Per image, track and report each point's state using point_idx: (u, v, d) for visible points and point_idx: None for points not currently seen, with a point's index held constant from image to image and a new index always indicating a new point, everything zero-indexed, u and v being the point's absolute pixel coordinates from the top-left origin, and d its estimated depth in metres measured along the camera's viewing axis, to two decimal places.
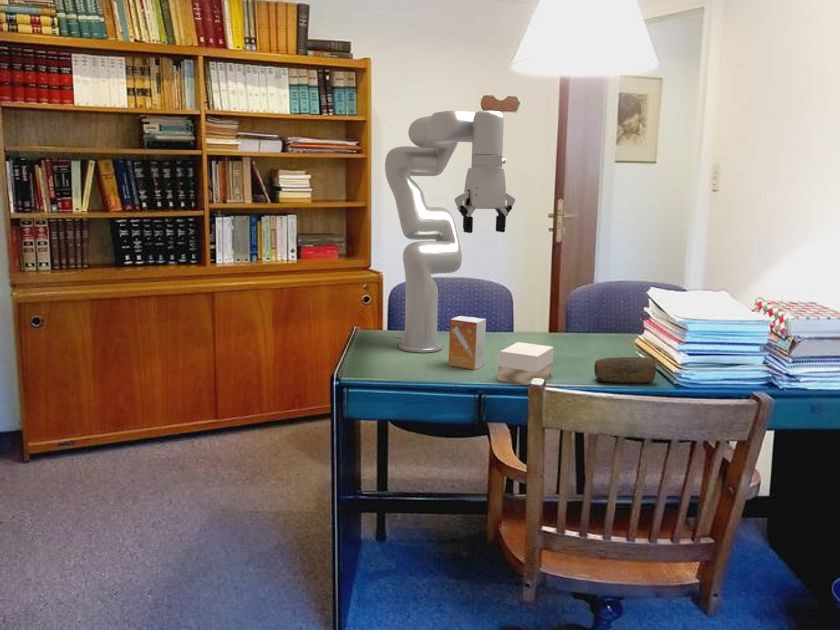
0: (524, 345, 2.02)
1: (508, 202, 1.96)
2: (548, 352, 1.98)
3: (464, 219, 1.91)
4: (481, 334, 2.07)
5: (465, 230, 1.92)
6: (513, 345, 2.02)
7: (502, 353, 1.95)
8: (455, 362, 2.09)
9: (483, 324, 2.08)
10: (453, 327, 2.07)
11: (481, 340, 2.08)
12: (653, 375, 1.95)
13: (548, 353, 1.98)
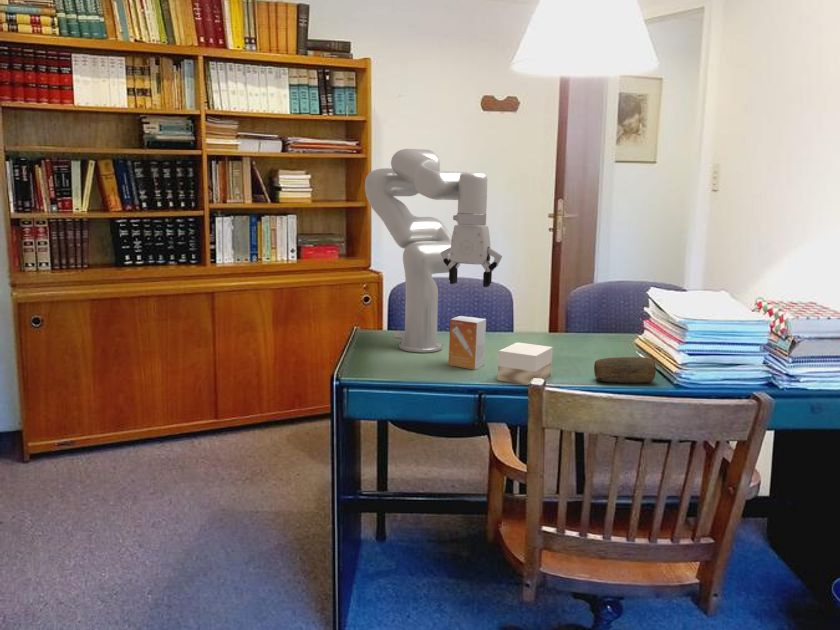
0: (523, 345, 2.02)
1: (447, 255, 2.08)
2: (547, 352, 1.98)
3: (490, 275, 2.03)
4: (481, 334, 2.07)
5: (486, 285, 2.03)
6: (512, 345, 2.02)
7: (501, 352, 1.95)
8: (455, 362, 2.09)
9: (484, 324, 2.08)
10: (453, 327, 2.07)
11: (481, 340, 2.08)
12: (653, 375, 1.95)
13: (547, 353, 1.98)
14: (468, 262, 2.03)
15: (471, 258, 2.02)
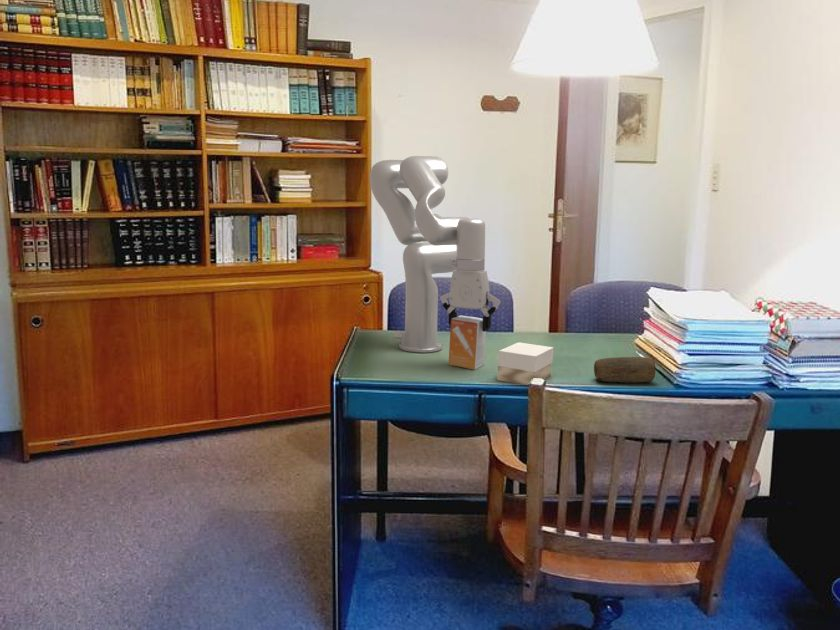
0: (524, 345, 2.02)
1: (446, 300, 2.10)
2: (547, 352, 1.98)
3: (489, 319, 2.05)
4: (482, 334, 2.07)
5: (486, 329, 2.05)
6: (513, 345, 2.02)
7: (501, 352, 1.96)
8: (455, 361, 2.09)
9: None
10: (454, 326, 2.07)
11: (481, 340, 2.08)
12: (653, 375, 1.95)
13: (547, 353, 1.98)
14: (467, 307, 2.05)
15: (470, 303, 2.04)
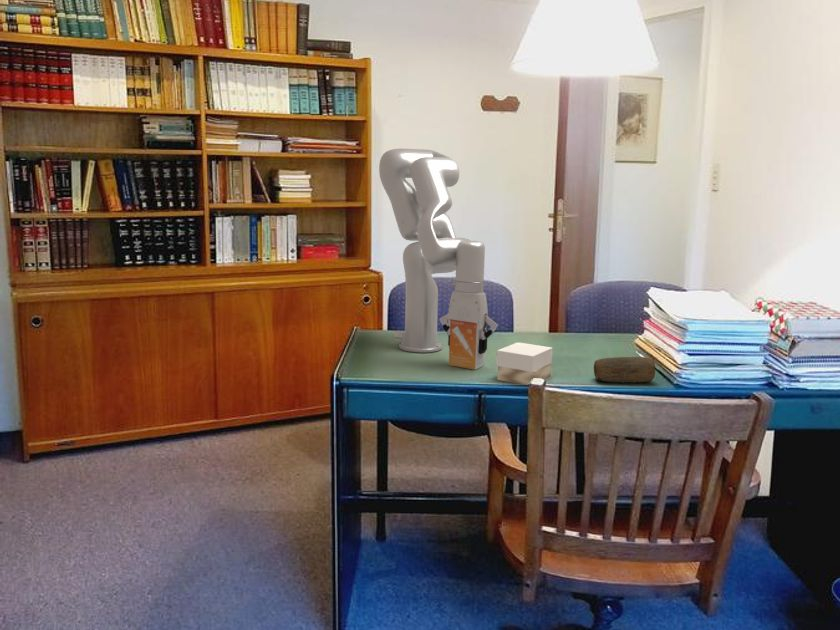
0: (523, 345, 2.02)
1: (446, 321, 2.12)
2: (546, 352, 1.97)
3: (485, 342, 2.07)
4: None
5: (482, 352, 2.07)
6: (512, 345, 2.02)
7: (499, 352, 1.96)
8: (455, 362, 2.09)
9: (484, 324, 2.08)
10: (453, 327, 2.07)
11: None
12: (652, 375, 1.95)
13: (546, 354, 1.98)
14: None
15: None
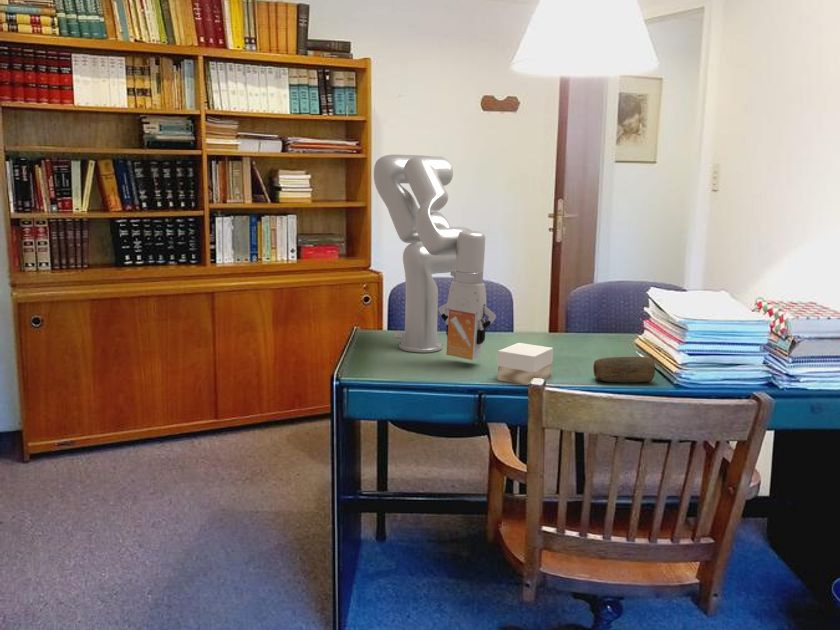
0: (524, 345, 2.02)
1: (444, 310, 2.12)
2: (546, 353, 1.98)
3: (483, 332, 2.07)
4: None
5: (480, 342, 2.08)
6: (513, 345, 2.02)
7: (500, 352, 1.96)
8: (453, 351, 2.09)
9: (482, 315, 2.08)
10: (452, 317, 2.07)
11: None
12: (652, 374, 1.95)
13: (547, 354, 1.98)
14: None
15: None
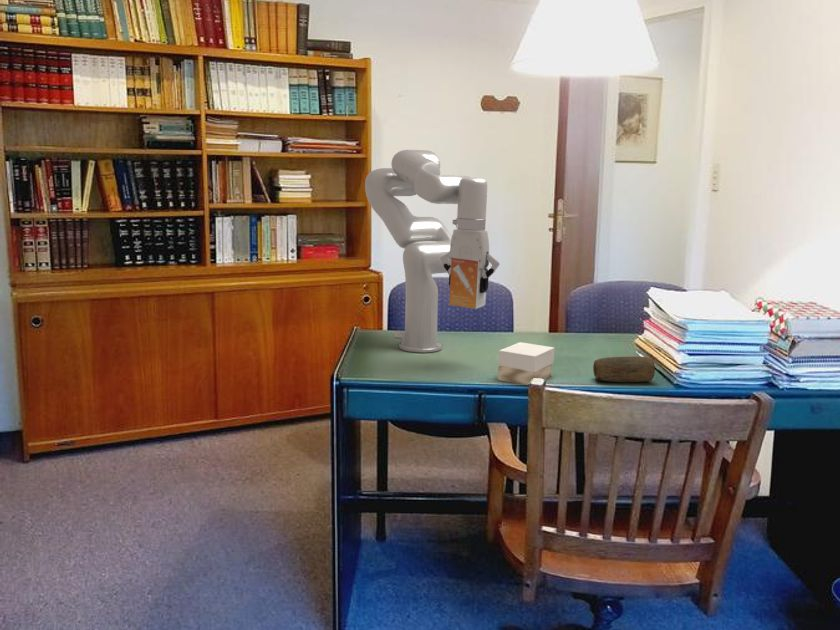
0: (525, 345, 2.03)
1: (446, 260, 2.09)
2: (548, 352, 1.98)
3: (486, 281, 2.04)
4: None
5: (483, 291, 2.04)
6: (514, 345, 2.02)
7: (501, 352, 1.96)
8: (455, 301, 2.06)
9: (485, 263, 2.05)
10: (454, 265, 2.04)
11: None
12: (652, 374, 1.95)
13: (548, 353, 1.98)
14: None
15: None
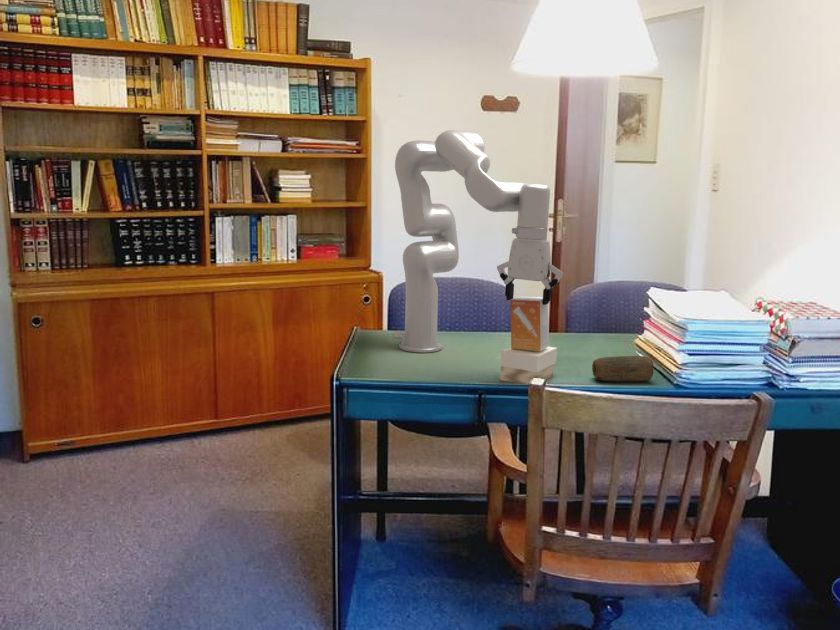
0: None
1: (503, 270, 1.98)
2: (550, 352, 1.98)
3: (550, 292, 1.93)
4: (544, 313, 1.95)
5: (546, 302, 1.93)
6: None
7: (504, 352, 1.96)
8: (518, 344, 1.97)
9: None
10: (514, 307, 1.95)
11: (544, 320, 1.96)
12: (651, 373, 1.96)
13: (550, 354, 1.98)
14: (527, 278, 1.93)
15: (531, 274, 1.92)
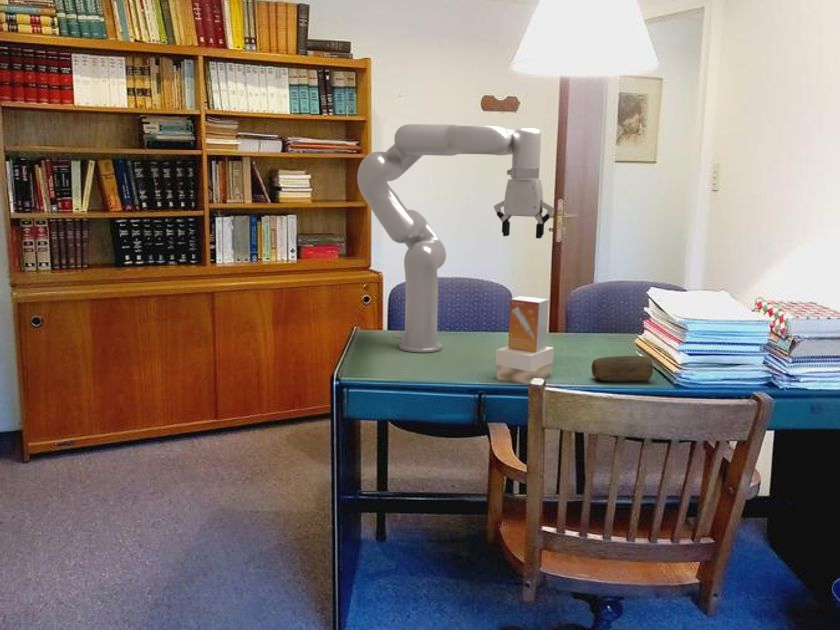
0: None
1: (500, 209, 2.17)
2: (546, 352, 1.98)
3: (542, 227, 2.12)
4: (543, 315, 1.96)
5: (539, 236, 2.12)
6: None
7: (499, 351, 1.97)
8: (515, 344, 1.98)
9: (546, 305, 1.96)
10: (514, 307, 1.96)
11: (543, 322, 1.96)
12: (650, 373, 1.97)
13: (546, 353, 1.98)
14: (522, 214, 2.12)
15: (525, 210, 2.11)
